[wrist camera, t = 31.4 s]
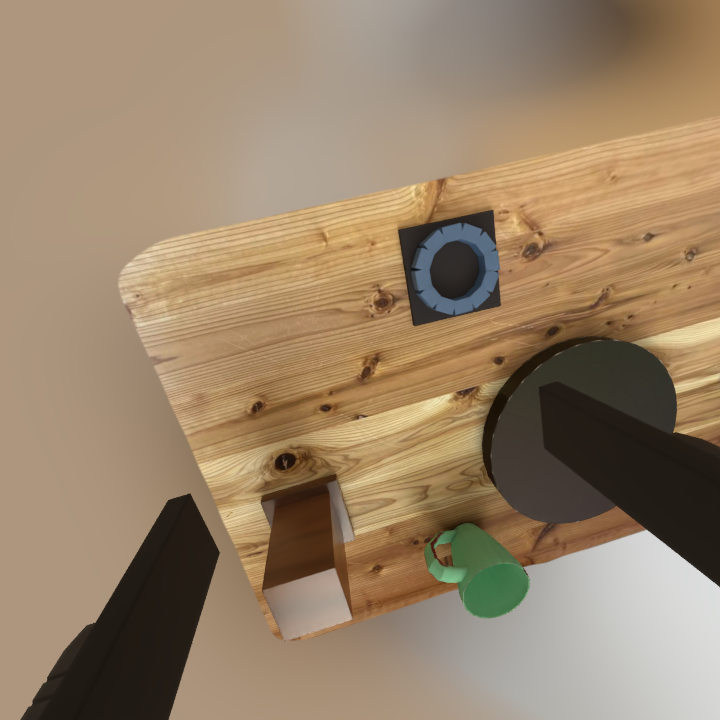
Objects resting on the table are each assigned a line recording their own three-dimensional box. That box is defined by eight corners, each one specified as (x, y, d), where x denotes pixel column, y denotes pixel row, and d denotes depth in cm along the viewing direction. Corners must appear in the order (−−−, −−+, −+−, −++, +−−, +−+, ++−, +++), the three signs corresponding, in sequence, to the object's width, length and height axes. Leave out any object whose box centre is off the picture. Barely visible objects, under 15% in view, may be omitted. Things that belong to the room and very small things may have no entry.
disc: (603, 292, 47) (622, 293, 44) (687, 425, 55) (707, 434, 52) (442, 434, 49) (450, 444, 46) (546, 540, 58) (558, 554, 55)
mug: (502, 517, 55) (542, 569, 46) (476, 563, 57) (509, 623, 48) (425, 497, 52) (450, 549, 42) (400, 547, 54) (419, 607, 44)
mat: (413, 325, 44) (414, 326, 44) (398, 230, 41) (399, 229, 40) (498, 305, 45) (500, 305, 44) (491, 210, 42) (493, 209, 41)
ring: (404, 237, 40) (408, 235, 39) (486, 216, 41) (494, 214, 39) (420, 321, 44) (424, 323, 42) (496, 300, 44) (503, 302, 42)
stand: (262, 495, 48) (242, 584, 35) (336, 473, 49) (345, 552, 35) (285, 553, 51) (275, 655, 38) (354, 532, 52) (368, 624, 39)
